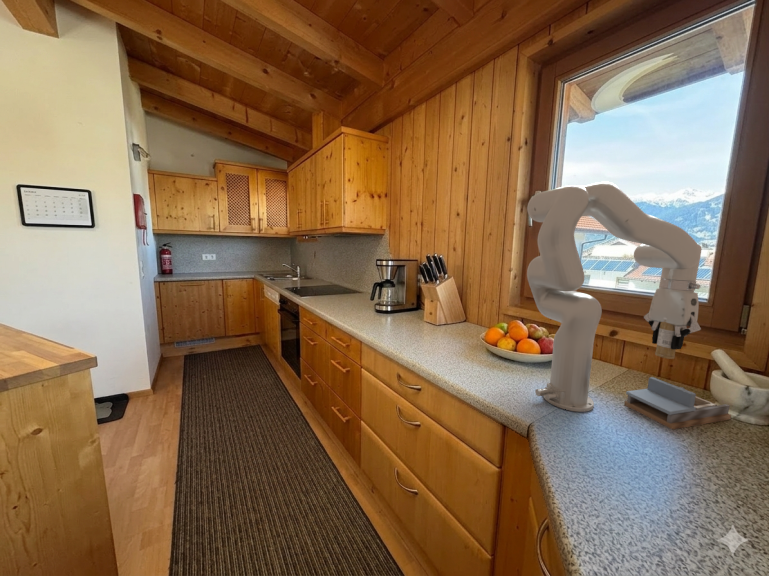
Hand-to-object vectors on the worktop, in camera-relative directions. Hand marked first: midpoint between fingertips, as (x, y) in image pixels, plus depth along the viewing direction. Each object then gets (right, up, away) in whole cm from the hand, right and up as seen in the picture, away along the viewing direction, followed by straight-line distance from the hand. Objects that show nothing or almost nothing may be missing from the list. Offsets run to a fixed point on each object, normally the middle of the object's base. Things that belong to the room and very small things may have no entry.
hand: (666, 345), depth 93 cm
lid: (-12, -13, -11) cm, 21 cm away
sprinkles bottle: (0, -4, +1) cm, 4 cm away
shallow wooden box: (-6, -16, -9) cm, 19 cm away
